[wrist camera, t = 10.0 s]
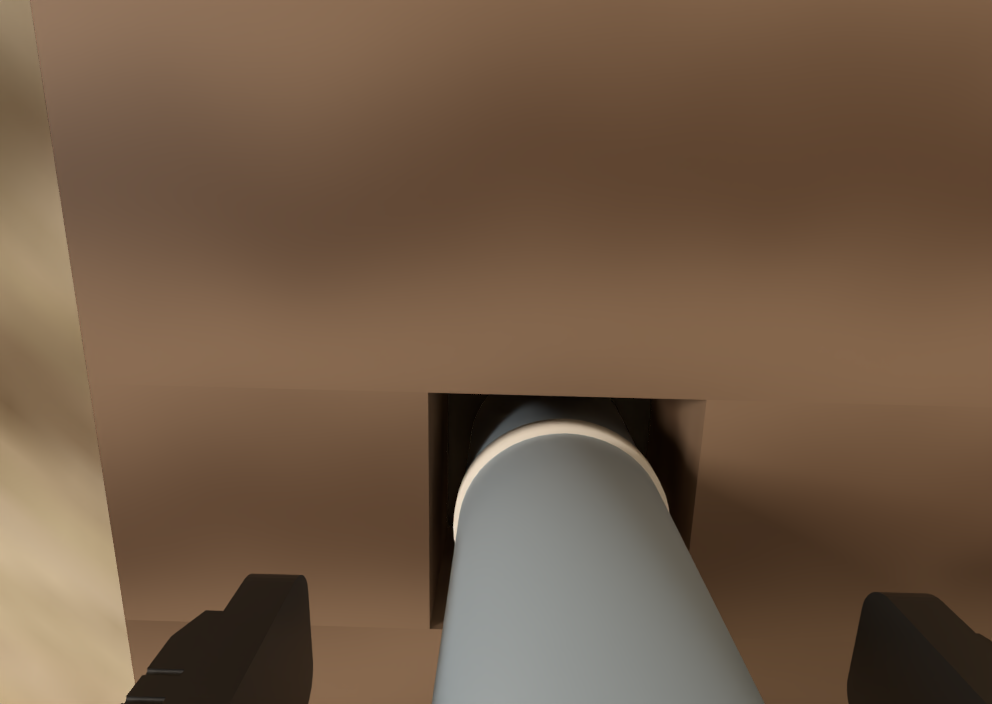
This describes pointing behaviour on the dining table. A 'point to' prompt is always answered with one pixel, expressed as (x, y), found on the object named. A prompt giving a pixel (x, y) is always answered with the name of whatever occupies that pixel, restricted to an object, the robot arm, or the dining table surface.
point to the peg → (574, 571)
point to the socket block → (532, 295)
